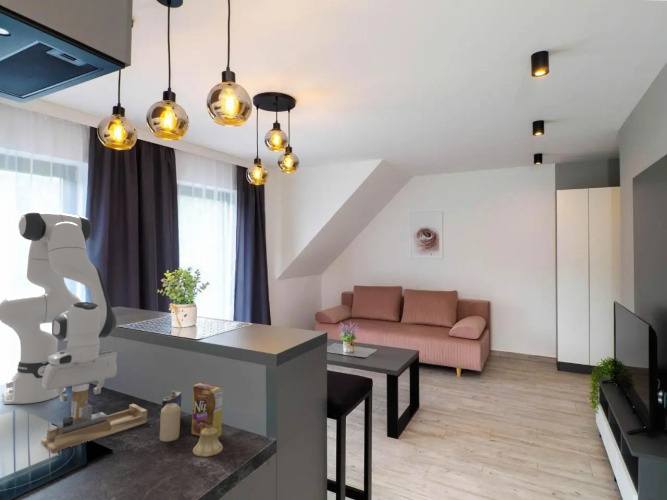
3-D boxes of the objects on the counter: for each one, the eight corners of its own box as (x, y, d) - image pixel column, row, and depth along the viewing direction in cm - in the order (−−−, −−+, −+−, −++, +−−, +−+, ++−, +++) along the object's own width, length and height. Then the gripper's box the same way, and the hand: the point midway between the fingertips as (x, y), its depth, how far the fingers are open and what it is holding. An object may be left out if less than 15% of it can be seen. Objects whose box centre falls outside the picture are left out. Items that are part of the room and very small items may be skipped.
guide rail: (41, 443, 107) (42, 428, 107) (133, 415, 128) (133, 403, 128) (52, 453, 102) (53, 438, 102) (146, 422, 123) (147, 410, 123)
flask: (175, 417, 128) (177, 385, 128) (183, 418, 128) (184, 386, 128) (159, 428, 119) (160, 395, 119) (167, 429, 118) (169, 395, 119)
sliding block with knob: (56, 438, 108) (57, 410, 108) (101, 424, 118) (102, 399, 118) (61, 442, 106) (63, 413, 106) (106, 428, 115) (108, 402, 116)
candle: (169, 443, 110) (171, 409, 110) (155, 439, 111) (157, 405, 112) (183, 435, 115) (184, 402, 115) (169, 432, 117) (170, 400, 117)
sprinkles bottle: (86, 427, 118) (89, 384, 119) (69, 430, 116) (71, 386, 116) (86, 422, 122) (89, 380, 122) (69, 424, 119) (72, 382, 120)
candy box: (190, 434, 115) (192, 385, 116) (200, 429, 119) (202, 381, 120) (211, 441, 112) (214, 390, 112) (221, 435, 116) (224, 386, 116)
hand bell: (207, 440, 112) (210, 386, 113) (229, 447, 109) (231, 391, 109) (186, 452, 105) (188, 395, 105) (208, 459, 101) (211, 400, 102)
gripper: (112, 347, 130) (110, 387, 129) (41, 357, 113) (38, 403, 112) (121, 349, 126) (119, 391, 125) (49, 360, 110) (46, 408, 109)
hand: (80, 397), depth 119 cm, fingers open, 8 cm apart
